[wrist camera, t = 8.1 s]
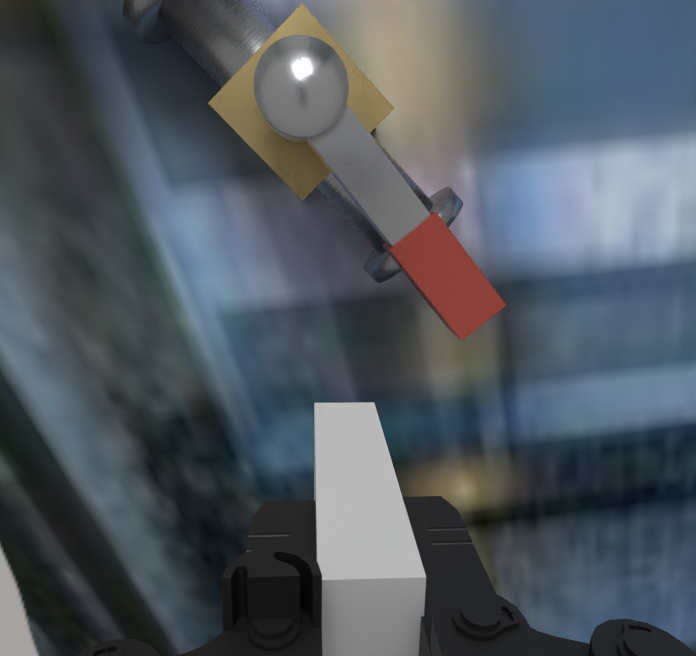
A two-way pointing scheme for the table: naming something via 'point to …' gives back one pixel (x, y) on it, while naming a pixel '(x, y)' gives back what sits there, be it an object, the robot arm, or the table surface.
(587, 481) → the table surface
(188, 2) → the valve
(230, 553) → the table surface
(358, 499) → the robot arm
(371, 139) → the lever
